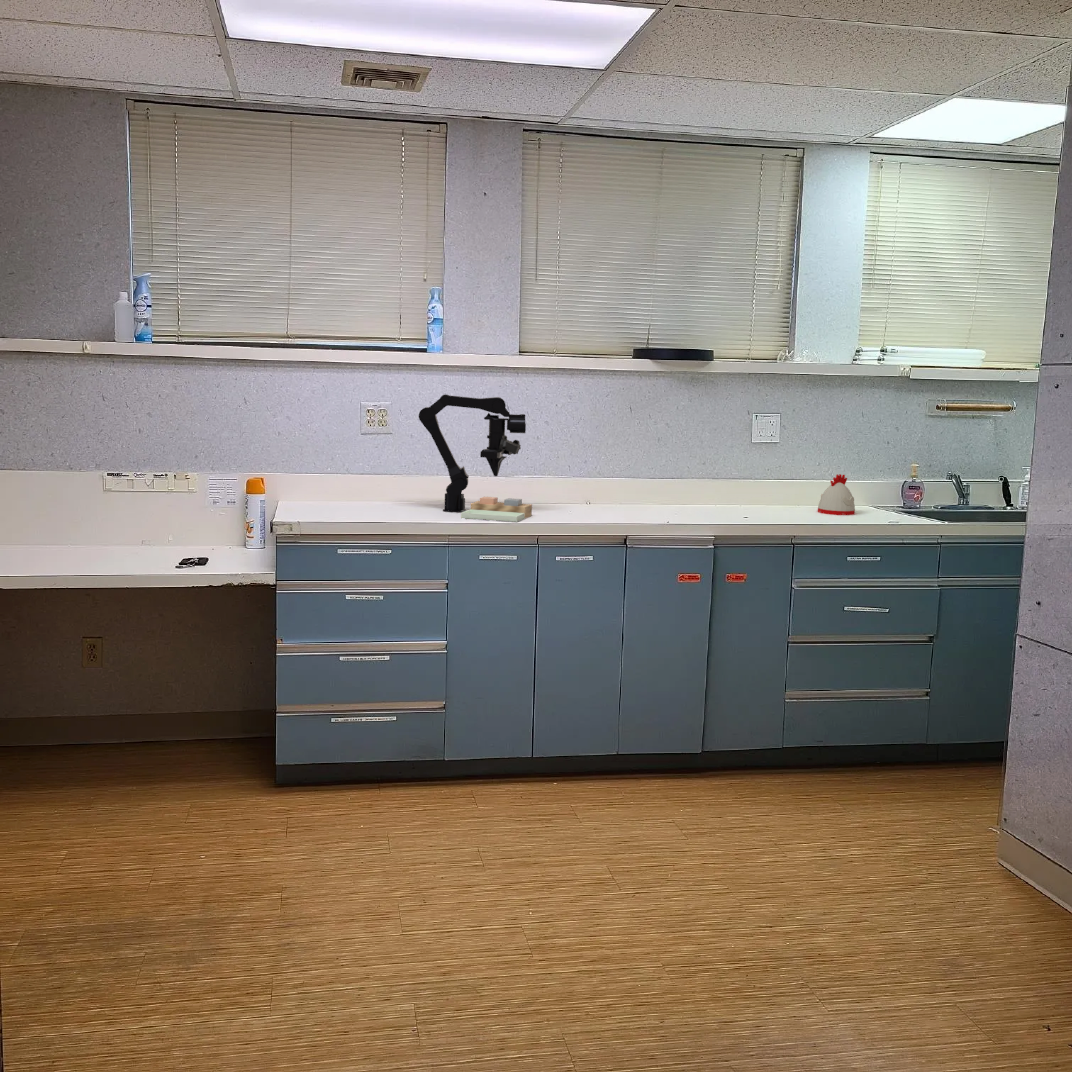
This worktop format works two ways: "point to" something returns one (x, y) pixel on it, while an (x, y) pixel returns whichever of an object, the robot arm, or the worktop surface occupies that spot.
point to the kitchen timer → (837, 498)
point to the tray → (493, 515)
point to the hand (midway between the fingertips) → (495, 476)
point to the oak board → (503, 508)
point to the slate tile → (512, 502)
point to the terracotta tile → (489, 500)
